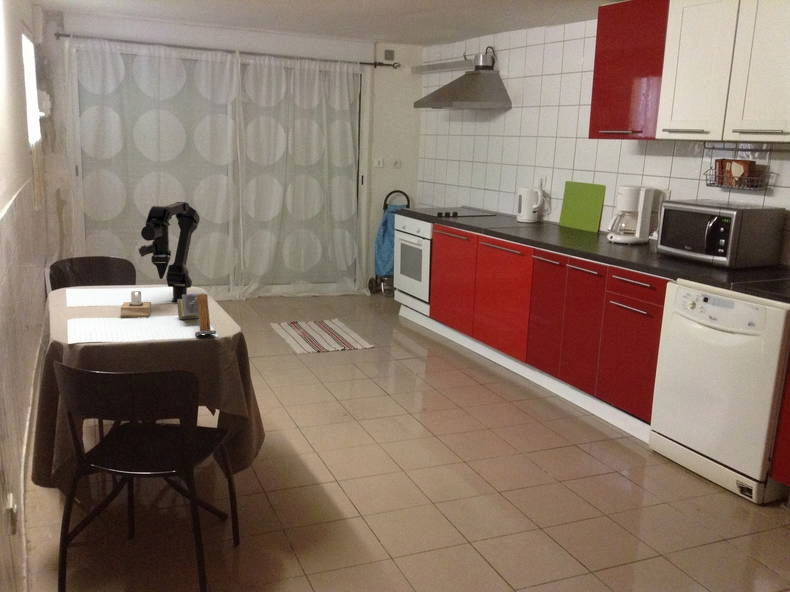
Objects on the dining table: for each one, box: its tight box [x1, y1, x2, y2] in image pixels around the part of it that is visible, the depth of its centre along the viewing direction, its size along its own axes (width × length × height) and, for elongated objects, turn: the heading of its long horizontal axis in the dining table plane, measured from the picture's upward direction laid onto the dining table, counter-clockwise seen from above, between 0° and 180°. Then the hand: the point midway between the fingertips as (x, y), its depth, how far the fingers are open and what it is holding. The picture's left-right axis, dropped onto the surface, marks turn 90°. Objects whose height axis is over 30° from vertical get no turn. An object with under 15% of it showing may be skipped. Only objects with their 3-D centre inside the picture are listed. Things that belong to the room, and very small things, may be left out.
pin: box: [130, 290, 142, 306], centre depth 268 cm, size 4×4×8 cm
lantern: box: [176, 292, 217, 337], centre depth 253 cm, size 8×17×30 cm
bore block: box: [120, 301, 152, 319], centre depth 268 cm, size 10×10×4 cm
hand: (162, 276), depth 279 cm, fingers open, 9 cm apart
